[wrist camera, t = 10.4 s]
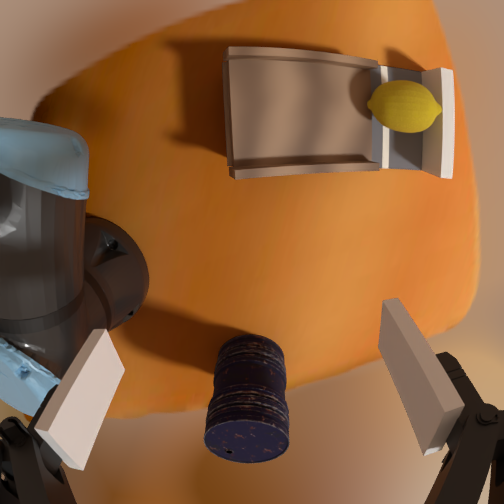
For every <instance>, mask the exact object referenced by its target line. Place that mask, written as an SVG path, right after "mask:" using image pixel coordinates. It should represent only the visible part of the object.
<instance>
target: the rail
mask: <svg viewBox="0 0 504 504" xmlns="http://www.w3.org/2000/svg"><path fill="white" fill-rule="evenodd" d="M421 74H422V85H423V86H424V87H426V88H427V89H428V90H429V91H430V92H431V94H432V95H433V97H434V99H435V101H436V102H437V103H438V104H439V105H440V106H441V108H442V112H441V113H440V114H439V115H438V116H436V118H435V120H434V122H433V124H432V125H431V126H430V127H429V128H427V129H425V130H423V150H422V171H425V172H427V173H430V174H433V175H435V176H438V177H440V178H451V179H452V174H453V159H454V131H455V108H454V81H453V70H449V69H445V68H436V69H432V70H428V71H423V72H421Z"/></svg>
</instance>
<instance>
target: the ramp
mask: <svg viewBox="0 0 504 504" xmlns="http://www.w3.org/2000/svg"><path fill="white" fill-rule="evenodd" d="M223 61H227V62H222V74H223V94H224V113H225V132H226V149H227V166H233V167H229V176H231V177H232V178H234V179H235V180H236V179H247V178H258V177H269V176H282V175H296V174H311V173H329V172H352V171H379V166H380V163H377V162H373V161H372V111H371V110H370V109H369V108H368V106H367V102H368V101H369V100H370V99H371V78H370V69H376V68H378V61H376V60H371V59H365V58H360V57H354V56H348V55H341V54H334V53H327V52H319V51H310V50H299V49H287V48H270V47H228V48H227V49H226V50H225V51H224V52H223Z"/></svg>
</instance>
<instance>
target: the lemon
mask: <svg viewBox="0 0 504 504" xmlns="http://www.w3.org/2000/svg"><path fill="white" fill-rule="evenodd" d="M367 106H368V108H369V109H370V110H371V111H372V113H373V115H374V117H375V118H376V119H377V121H378V122H379V123H381V124H382V125H383V126H385V127H387V128H389V129H392V130H395V131H399V132H405V133H415V132H421V131H423V130H425V129H427V128H429V127H430V126H431V125H432V124H433V122H434V120H435V118H436V116H438V115H439V114H440V113H441V112H442V108H441V106H440V105H439V104H438V103H437V102H436V101H435V99H434V97H433V95H432V94H431V92H430V91H429V90H428V89H427V88H426V87H424V86H423V85H421V84H419V83H416V82H412V81H407V80H396V81H390V82H386V83H383V84H381V85H380V86H379V87H377V88H376V89H375V91H374V92H373V94H372V96H371V99H370V100H369V101H368V102H367Z"/></svg>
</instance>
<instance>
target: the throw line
mask: <svg viewBox="0 0 504 504" xmlns="http://www.w3.org/2000/svg"><path fill="white" fill-rule="evenodd" d="M381 82H382V84H383V83H386V82H388V71H387V66H381ZM388 167H389V128H387V127H385V126H383V149H382V168H388Z"/></svg>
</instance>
